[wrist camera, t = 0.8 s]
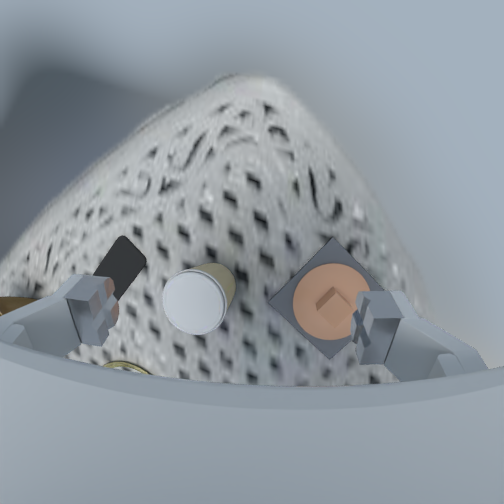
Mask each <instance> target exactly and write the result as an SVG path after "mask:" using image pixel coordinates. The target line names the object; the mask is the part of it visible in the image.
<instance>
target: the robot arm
mask: <svg viewBox="0 0 504 504" xmlns="http://www.w3.org/2000/svg"><path fill="white" fill-rule="evenodd" d="M114 290H115V287H114V282H113V280H112V279H111V278H109V277H100V276H91V275H83V274H73V275H72V276H71V277H70V278H69V279H68V280H67V281H66V282H65V283H64V284H63V285H62V286H61V287H60V288H59V289H58V290H57V291H56V292H55V293H54V294H53V295H52V296H46V297H44V298H42V299H39V300H37V301H35V302H32V303H30V304H28V305H25V306H23V307H21V308H18V309H16V310H14V311H11V312H9V313H7V314H4V315H2V316H0V504H504V366H503V367H498V368H493V369H488V367H487V366H486V364H485V363H484V361H483V359H482V358H481V356H480V355H479V353H478V352H477V350H476V349H475V348H473V347H471V346H470V345H468V344H466V343H465V342H463V341H461V340H460V339H458V338H456V337H455V336H453V335H451V334H450V333H448V332H446V331H445V330H443V329H441V328H440V327H438V326H436V325H434V324H433V323H431V322H429V321H428V320H426V319H424V318H419V317H418V315H417V313H416V312H415V310H414V309H413V307H412V305H411V304H410V302H409V300H408V299H407V297H406V296H405V294H404V293H403V292H402V291H359V292H358V294H357V297H356V301H355V303H356V306H357V308H358V309H357V310H356V311H355V312H354V313H353V314H352V319H351V328H350V331H351V337H352V341H353V342H354V343H356V344H357V346H356V350H355V351H356V354H357V358H358V361H359V364H360V365H363V364H384V366H385V367H386V368H387V369H388V370H389V371H390V372H391V373H393V374H394V375H395V376H396V377H397V378H398V379H399V380H400V381H401V382H396V383H384V384H369V385H350V386H263V385H244V384H229V383H216V382H205V381H195V380H186V379H178V378H170V377H162V376H155V375H149V374H142V373H136V372H130V371H124V370H119V369H114V368H108V367H103V366H98V365H94V364H89V363H84V362H80V361H75V360H71V359H67V358H63V357H64V356H65V355H67V354H68V353H70V352H71V351H72V350H74V349H75V348H77V347H78V346H80V345H81V343H82V344H88V345H95V346H101V347H102V345H103V344H104V342H105V340H106V339H107V337H108V336H109V331H108V329H110V328H112V327H113V326H115V324H116V322H117V320H118V315H119V305H118V300H117V299H116V298H115V297H114V296H113V292H114Z"/></svg>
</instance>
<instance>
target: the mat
mask: <svg viewBox="0 0 504 504" xmlns="http://www.w3.org/2000/svg"><path fill="white" fill-rule="evenodd" d="M327 263H340V264H344V265H347V266H350V267H352V268H353V269H355V270H356V271H357V272H359V273H360V274H361V275H362V276H363V278H364V279H365V280H366V282H367V284H368V286H369V289H370V291H384V290H383V289H382V288H381V287H380V285H379V284H378V283H377V282H376V281H375V280H374V279H373V278H372V277H371V276H370V275H369V274H368V273H367V272H366V271H365V270H364V269H363V267H362V266H361V265H360V264H359V263H358V262H357V261H356V260H355V259H354V258H353V257H352V256H351V255H350V254H349V253H348V252H347V251H346V250H345V249H344V248H343V247H342V246H341V245H340V244H339V243H338V242H337V241H336V240H335V239H334V238H333V237H332V238H331V239H330V240H329V241H328V242H327V243H326V245H325V246H324V247H323V248H322V249H321V250H320V251H319V252H318V253H317V254H316V255H315V256H314V257H313V258H312V259H311V260H310V261H309V262H308V263H307V264H306V265H305V266H304V267H303V268H302V269H301V270H300V271H299V272H298V273H297V274H296V275H295V276H294V277H293V278H292V279H291V280H290V281H289V282H288V283H287V284H286V285H285V286H284V287H283V288H282V289H281V290H280V291H279V292H278V293H277V294H276V295H275V296H274V297H273V298H272V299H271V300H270V301H269V302H268V303H269V304H270V305H271V306H272V307H273V308H274V309H276V310H277V311H278V312H279V313H280V314H281V315H282V316H283V317H284V318H285V319H286V320H287V321H288V322H289V323H290V324H291V325H293V326H294V327H295V328H296V329H297V330H298V331H299V332H300V333H301V334H302V335H303V336H304V337H305V338H307V339H308V340H309V341H310V342H311V343H312V344H313V345H314V346H315V347H316V348H317V349H318V350H319V351H321V352H322V353H323V354H324V355H325V356H326V357H327V358H328V359H329V360H330V359H331V358H332V357H333V356H334V355H335V354H336V353H338V352H339V351H340V350H341V349H342V348H343V347H344V346H345V345H347V344H348V343H349V342H350V341H351V340H352V337H351V335H349V336H347V337H344V338H341V339H337V340H324V339H319V338H316V337H314V336H312V335H310V334H309V333H307V332H306V331H305V330H304V329H303V328H302V327H301V326H300V325H299V323H298V321H297V319H296V317H295V314H294V310H293V297H294V292H295V289H296V287H297V285H298V283H299V281H300V280H301V279H302V277H303V276H304V275H305V274H306V273H308V272H309V271H310V270H312V269H313V268H315V267H317V266H320V265H323V264H327Z"/></svg>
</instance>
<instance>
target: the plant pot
mask: <svg viewBox="0 0 504 504" xmlns="http://www.w3.org/2000/svg"><path fill="white" fill-rule="evenodd" d="M35 301H37V300H36V299H31V298H24V297H0V316H2V315H4V314H7V313H9V312H11V311H14V310H16V309H18V308H21V307H23V306H25V305H28V304H30V303H32V302H35Z"/></svg>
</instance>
